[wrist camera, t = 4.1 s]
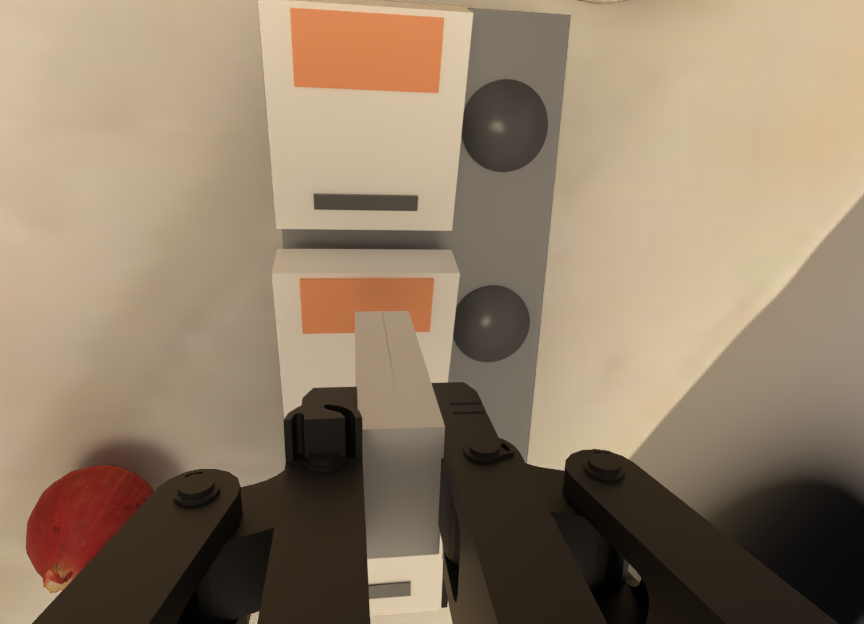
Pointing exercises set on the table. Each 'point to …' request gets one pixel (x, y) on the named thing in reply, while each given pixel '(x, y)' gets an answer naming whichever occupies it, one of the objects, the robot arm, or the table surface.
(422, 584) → the panel
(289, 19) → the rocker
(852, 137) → the table surface
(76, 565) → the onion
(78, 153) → the table surface
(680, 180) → the table surface
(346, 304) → the rocker
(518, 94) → the power strip
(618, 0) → the coffee can
